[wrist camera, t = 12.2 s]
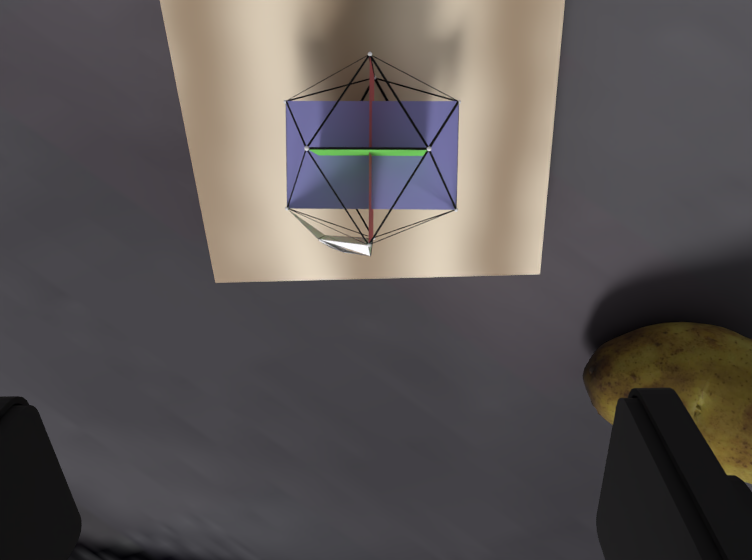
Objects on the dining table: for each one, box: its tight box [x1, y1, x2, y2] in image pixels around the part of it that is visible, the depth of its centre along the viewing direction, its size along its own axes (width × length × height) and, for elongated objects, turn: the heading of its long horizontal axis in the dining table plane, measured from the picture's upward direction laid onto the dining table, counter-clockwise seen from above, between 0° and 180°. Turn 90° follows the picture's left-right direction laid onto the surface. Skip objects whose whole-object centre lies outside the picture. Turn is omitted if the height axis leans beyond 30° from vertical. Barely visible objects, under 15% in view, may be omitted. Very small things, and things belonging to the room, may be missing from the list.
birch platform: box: [160, 0, 565, 283], centre depth 28 cm, size 16×14×3 cm
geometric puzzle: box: [284, 52, 461, 256], centre depth 24 cm, size 7×7×8 cm
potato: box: [583, 322, 752, 484], centre depth 32 cm, size 8×13×8 cm, turn 64°
